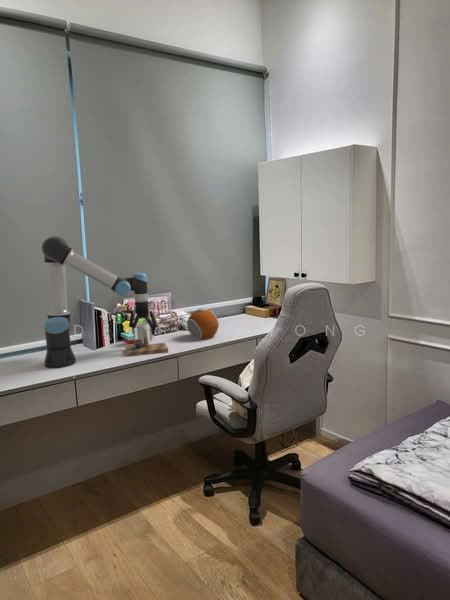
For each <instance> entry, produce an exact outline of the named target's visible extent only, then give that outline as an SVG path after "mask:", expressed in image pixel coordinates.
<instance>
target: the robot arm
mask: <svg viewBox="0 0 450 600" xmlns="http://www.w3.org/2000/svg"><path fill="white" fill-rule="evenodd" d="M41 252H42V254H43V255H44V256H43V257H44V259H43V260H44V264H46V265H47V270H48V271H47V273H48V274H47V275H48V289H49V290H48V291H49V292H48V293H49V307H50V308H49V309H50V310H49V311H48V312H47V319H46V320H45V321H44V326H43V327H44V328H43V329H44V332H45V344H46V345H45V346H46V354H45V358H44V366H45V367H46V368H52V369H55V368H56V369H59V368H65V367H69V366H72V365H74V364H76V361H77V360H76V359H77V358H76V355H75V353H74V351H73V350H72V346H71V337H70V335H71V334H70V333H71V331H72V327H73V323H72V320H71V312H70V311H69V310H68V300H67V298H68V297H67V280H66V275H67V274H66V266H67V267H70V268H71V269H73V270H74V271H77V272H78V273H80V274H83V275H84V276H85V277H88V278H89V279H91V280H93V281H95V282H97V283H99V284H101V285H103V286H105V287H106V288H108V289H110V290H111V292H113V293H116V294H117V295H119V296H121V297H123V296H124V297H125V296H127V295H128V294H130V292H133V296H134V299H133V300H134V307H135V309H132V310H131V309H130V318H129V322H128V328H131V331H132V332H131V333H132V335H133V340H134V341H135V340H136V339H138V335H137V328H135V327H136V325H137V323H139V320H140V318H143V319H145V320H146V323H148V324H149V326H150V327H149V333H150V342H153V341H154V340H155V334H156V331H155V330H156V329H157V328H158V327H159V325H158V323H157V318H156V316H155V311H154V310H150V307H149V303H150V302H149V301H148V300H149V293H148V291H149V290H148V288H149V287H148V278H147V274H146V273H145V272H135V273H133V274H132V277H120V276H117V275H115V274H114V273H112V272H110V271H109V270H107V269H105V268H103V267H102V266H101V265H100V266H99V265H98V264H96V263H94V262H92V261H91V260H89V259H87V258H86V257H83V256H81V255H80V254H78V253H77V252H75V251H74V249H73V248H71V247H70V246H69V245H68V242H67V241H66V240H65V239H64V238H63V237H60V236H56V235H53V236H50V237H48V238H46V239H44V241H43V242H42V244H41Z"/></svg>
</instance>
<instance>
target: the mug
mask: <svg viewBox="0 0 450 600" xmlns="http://www.w3.org/2000/svg"><path fill="white" fill-rule="evenodd" d="M135 328H137V335H138V339H136V340H142V344H144V335H143V329H147V336H148V344H150V342H151V338H150V328H151V327H150V326H149V324H148V322H138V323H137V325H136V327H135ZM136 340H134V344H136Z"/></svg>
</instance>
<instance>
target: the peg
mask: <svg viewBox="0 0 450 600" xmlns="http://www.w3.org/2000/svg"><path fill="white" fill-rule="evenodd" d="M143 335H144V344H142V340H136V343H135V346H136V347H135V348H132V349H131V350H133V349H136V348H142V347H143V346H145V345H148V344H149V343H148V336H147V329H143Z"/></svg>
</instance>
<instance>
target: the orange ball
mask: <svg viewBox="0 0 450 600" xmlns="http://www.w3.org/2000/svg"><path fill="white" fill-rule="evenodd" d="M219 326H220V325H219V320H218V318H217V316H216V314H215V313H214V312H213V311H212V310H209V309H207V308H205V307H203V308H202V307H200V308H197V310H195V311H193V312H192V313H191V314H190V316H189V317H188V319H187V321H186V327H187V329H188V333H190V335H191V336H192V337H193V338H195V339H199V340H208V339H211V338H213V337H214V336H215V335H216V334H217V332H218V329H219Z"/></svg>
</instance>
